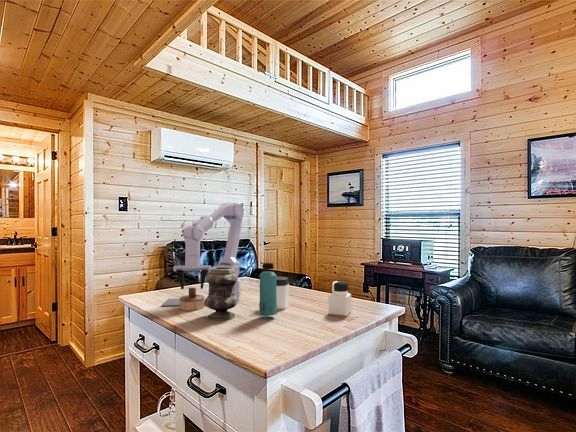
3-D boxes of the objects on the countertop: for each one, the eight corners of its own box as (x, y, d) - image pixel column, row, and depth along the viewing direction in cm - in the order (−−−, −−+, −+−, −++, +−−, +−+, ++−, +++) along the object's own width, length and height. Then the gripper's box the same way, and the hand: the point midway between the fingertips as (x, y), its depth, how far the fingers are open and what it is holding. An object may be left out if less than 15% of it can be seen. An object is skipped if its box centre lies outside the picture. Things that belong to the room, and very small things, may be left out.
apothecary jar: (244, 315, 124) (244, 266, 124) (223, 323, 113) (223, 270, 114) (219, 310, 130) (220, 264, 130) (197, 318, 119) (197, 268, 120)
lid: (205, 296, 139) (206, 285, 139) (202, 301, 130) (202, 290, 130) (182, 296, 138) (182, 286, 138) (177, 302, 129) (177, 290, 129)
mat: (195, 299, 149) (195, 298, 149) (190, 306, 137) (190, 304, 137) (168, 300, 147) (168, 298, 148) (161, 306, 136) (161, 305, 136)
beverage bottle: (279, 316, 122) (279, 262, 123) (272, 321, 116) (273, 264, 117) (263, 314, 125) (263, 261, 125) (256, 319, 118) (256, 263, 119)
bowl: (205, 304, 139) (205, 296, 139) (202, 310, 130) (202, 301, 130) (182, 305, 138) (182, 296, 138) (177, 311, 129) (178, 302, 129)
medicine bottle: (351, 311, 129) (351, 280, 129) (346, 316, 123) (346, 283, 123) (333, 309, 132) (333, 279, 132) (328, 314, 126) (328, 282, 126)
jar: (293, 307, 135) (293, 278, 135) (277, 310, 130) (277, 280, 130) (279, 303, 142) (279, 275, 142) (264, 306, 137) (264, 277, 137)
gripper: (172, 256, 130) (171, 290, 129) (209, 255, 131) (209, 290, 131) (176, 254, 137) (175, 287, 136) (211, 254, 138) (211, 286, 138)
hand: (192, 288), depth 134 cm, fingers open, 7 cm apart
